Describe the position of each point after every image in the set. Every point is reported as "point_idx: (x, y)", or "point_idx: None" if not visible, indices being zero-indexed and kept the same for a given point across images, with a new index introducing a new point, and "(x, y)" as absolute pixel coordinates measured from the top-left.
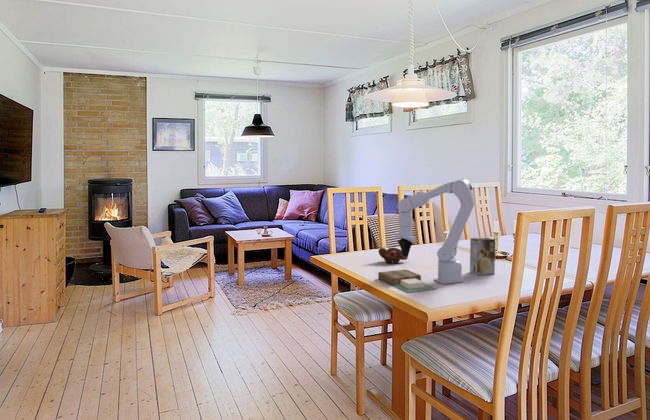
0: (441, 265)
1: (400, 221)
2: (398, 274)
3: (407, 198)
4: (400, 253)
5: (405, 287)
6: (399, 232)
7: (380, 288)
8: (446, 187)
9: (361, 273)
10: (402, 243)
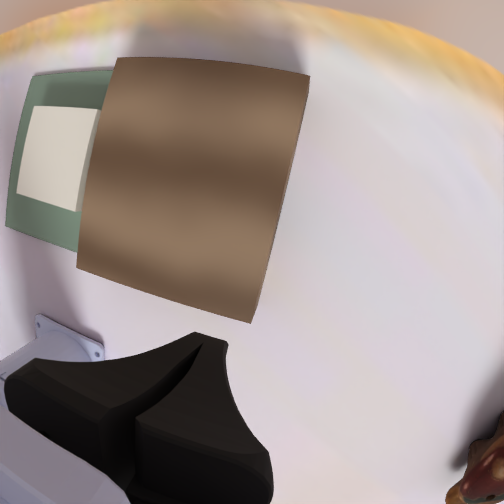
0: (5, 363)
1: None
2: (162, 156)
3: None
4: (473, 488)
5: (68, 106)
6: None
7: (143, 2)
8: None
9: (480, 123)
10: (66, 371)
